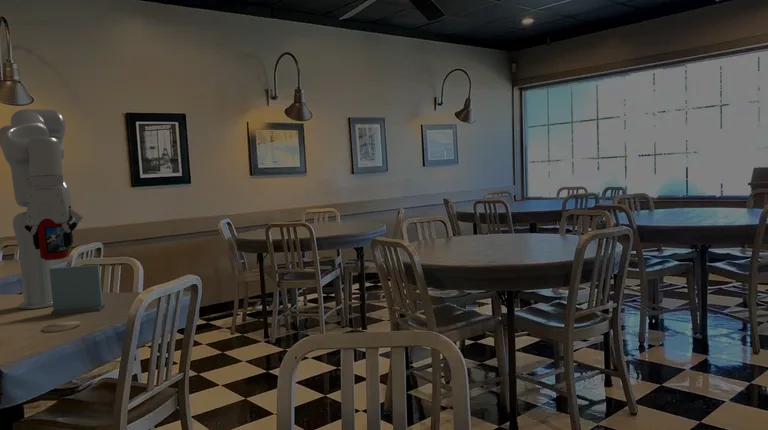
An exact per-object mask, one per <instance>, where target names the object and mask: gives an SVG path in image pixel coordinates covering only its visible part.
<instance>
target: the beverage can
mask: <svg viewBox="0 0 768 430" xmlns="http://www.w3.org/2000/svg"><path fill="white" fill-rule="evenodd" d="M37 227H38V238H39V247H40V256H41V258H42V259H44V260H54V261H56V260H63V259H66V258H67V257H68V256H69V255H70V254H69V247H65V244H64V233H65V230H64V228H63V227H62V223H61V224H56V223H55V222H54V221H53V220H51V219H48V218H46V219H43V220H42V221H41V222H40V224H39V225H37Z"/></svg>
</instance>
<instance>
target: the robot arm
mask: <svg viewBox="0 0 768 430" xmlns="http://www.w3.org/2000/svg"><path fill="white" fill-rule="evenodd" d="M65 133H66V122H65V118H64V116H63V115H62V113H60V112H59V111H58V110H55V109H32V108H30V109H29V108H27V109H26V108H25V109H20V110H17V111H15V112H14V113H13V114H12V115H11V117H10V124H9V125H5V126H2V127H1V128H0V148H1V152H2V154H3V156H4V159H5V161H6V162H7V163H8V165H9V167H10V172H11V178H12V186H13V193H14V199H15V202H16V204H17V205H18V206H20V207H21V208H26V211H22V212H19V213H18V214H16V215H15V216H14V217H13V219H12V228H13V231H14V236H15V239H16V242H17V249H18V255H19V264H20V265H19V266H20V274H21V284H22V293H23V302H21V303H19V304H18V309H20V310H32V309H33V310H34V309H42V308H47V307H53V300H52V290H51V280H50V270H49V269H51V268H55V260H44V259H42V258H41V256H40V247H39V238H38V227H37V225H39V224H40V222H41V221H42V220H43V219H46V218H48V219H51V220H53V221H54V222H55V223H56V224H61V223H62V227H63V228H64V230H65V233H64V244H65V247H68V248H70V247H72V246H73V243H74V238H73V237H74V235H73V234H74V232H75V230H76V229H77V227H78V226H79V224H80V223H81V222H82V220H83V219H84V216H83V215H81V214H79V213H78V212H77V211H75V210H74V209H73V206H72V204H73V203H72V199H71V190H70V188H69V184H68V182H67V180H65V179H64V174H63V164H62V160H63V159H64V156H65V150H64V146H63V145H62V143H63V139H64V136H65Z"/></svg>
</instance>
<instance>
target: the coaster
mask: <svg viewBox="0 0 768 430" xmlns="http://www.w3.org/2000/svg"><path fill="white" fill-rule="evenodd" d="M80 326H81V321H79V320H70V321H68V320H67V321H62V322H55V323H52V324H48V325H45V326H43V327H42V332H44V333H57V332H64V331H70V330H73V329H76V328H79V327H80Z"/></svg>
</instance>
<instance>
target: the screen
mask: <svg viewBox="0 0 768 430" xmlns="http://www.w3.org/2000/svg"><path fill="white" fill-rule="evenodd" d="M49 270H50V280H51V290H52V300H53V306H52V309H53V310H51V312H50V313H51V316H53V315H65V314H66V315H67V314H79V313H88V312H89V313H90V312H99V311H101V310H103V309H105V308H106V304H105V303H104V301H103V300H104V299H103V289H102V281H101V269H100V264H89V265H88V264H87V265H76V266H63V267H54V268H51V269H49Z"/></svg>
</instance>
